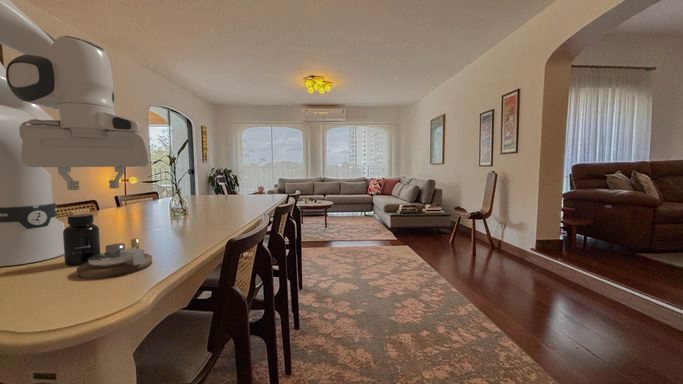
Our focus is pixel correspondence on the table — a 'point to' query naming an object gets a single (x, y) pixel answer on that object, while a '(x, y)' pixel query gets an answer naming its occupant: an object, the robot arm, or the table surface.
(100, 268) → the walnut base
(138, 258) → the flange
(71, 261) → the supplement bottle
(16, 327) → the table surface
